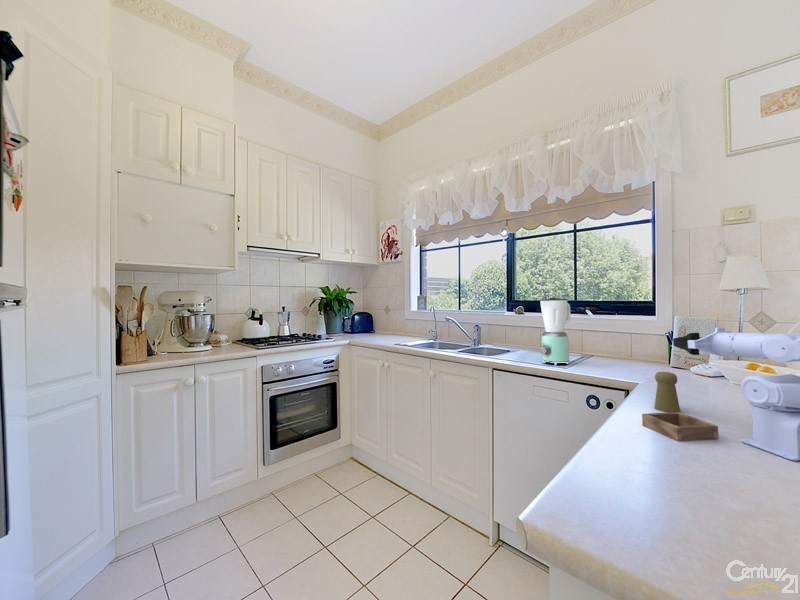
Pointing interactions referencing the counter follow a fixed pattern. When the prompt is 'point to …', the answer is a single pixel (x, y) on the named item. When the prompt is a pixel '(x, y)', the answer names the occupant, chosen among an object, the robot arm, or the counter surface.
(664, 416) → the wooden tray
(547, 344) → the mint green blender
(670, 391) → the cork
